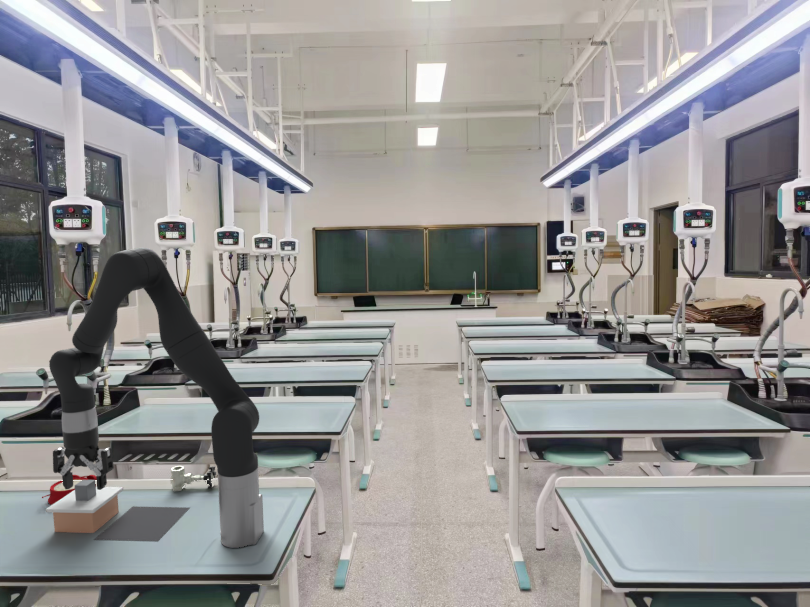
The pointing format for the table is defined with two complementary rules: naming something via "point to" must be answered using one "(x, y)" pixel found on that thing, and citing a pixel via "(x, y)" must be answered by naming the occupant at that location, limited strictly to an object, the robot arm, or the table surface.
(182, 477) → the valve
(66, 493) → the alarm clock
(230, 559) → the table surface
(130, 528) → the mat
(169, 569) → the table surface
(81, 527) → the tub
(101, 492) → the lid
